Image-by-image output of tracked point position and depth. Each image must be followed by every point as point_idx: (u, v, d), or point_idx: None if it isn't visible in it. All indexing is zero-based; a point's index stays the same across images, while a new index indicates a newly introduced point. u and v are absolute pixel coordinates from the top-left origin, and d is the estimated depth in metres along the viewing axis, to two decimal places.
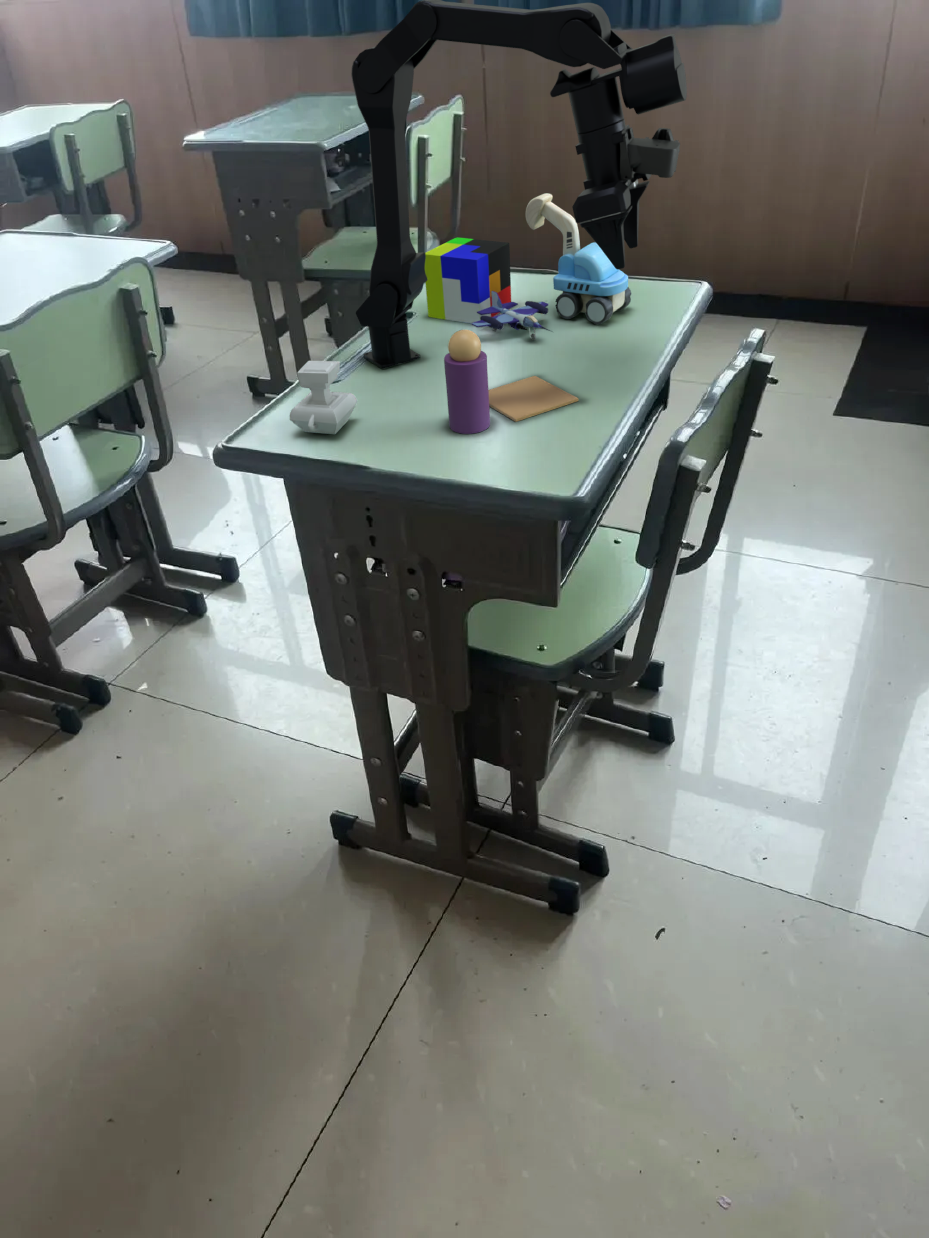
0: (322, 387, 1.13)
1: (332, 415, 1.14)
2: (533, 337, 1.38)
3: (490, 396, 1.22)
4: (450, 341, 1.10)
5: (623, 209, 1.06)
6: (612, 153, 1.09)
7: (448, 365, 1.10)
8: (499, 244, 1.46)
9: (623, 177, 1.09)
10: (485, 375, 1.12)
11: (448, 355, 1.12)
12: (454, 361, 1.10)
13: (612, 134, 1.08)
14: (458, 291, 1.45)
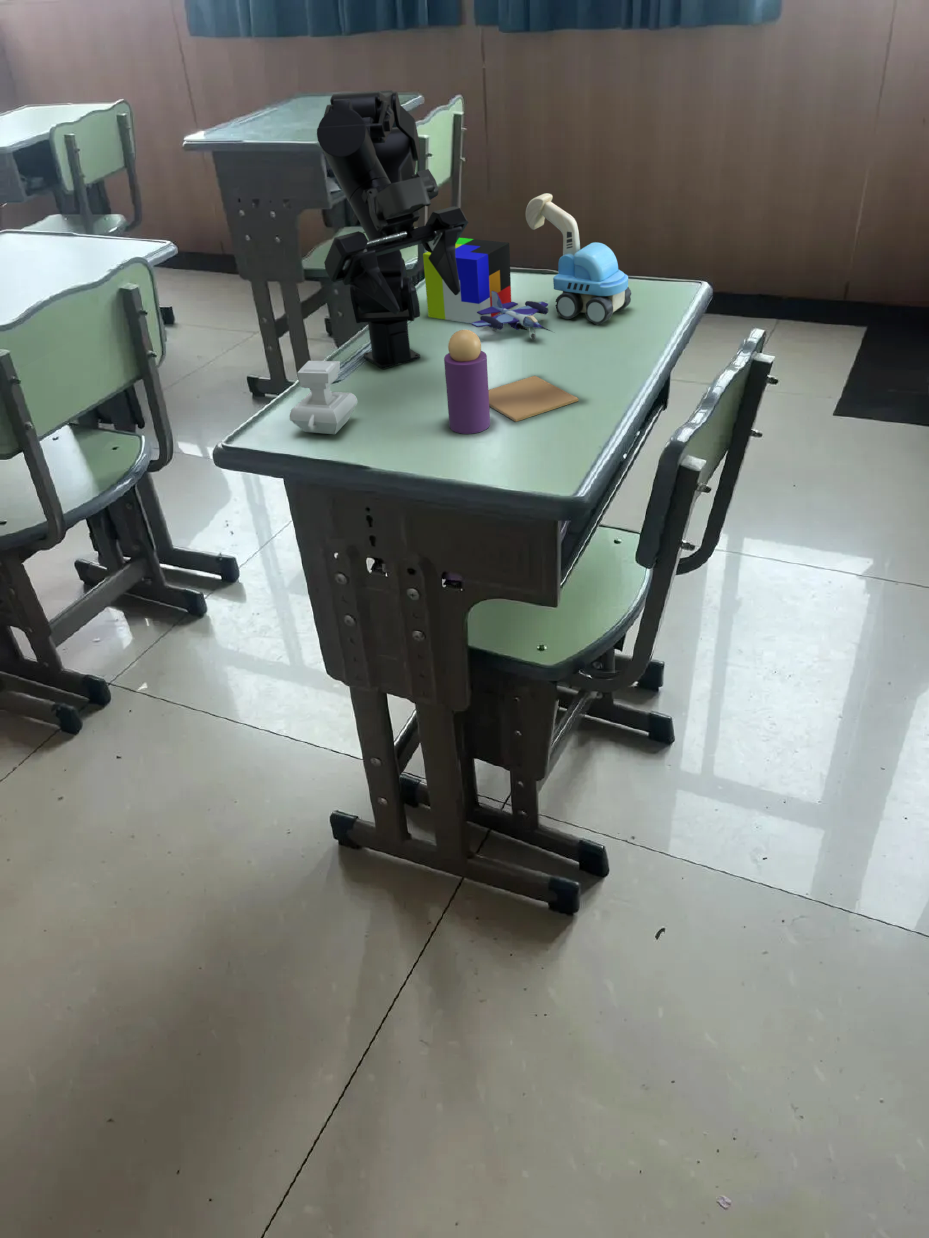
0: (322, 387, 1.13)
1: (332, 415, 1.14)
2: (533, 337, 1.38)
3: (490, 396, 1.22)
4: (450, 341, 1.10)
5: (343, 253, 1.08)
6: (367, 210, 1.12)
7: (448, 365, 1.10)
8: (499, 244, 1.46)
9: (377, 228, 1.11)
10: (485, 375, 1.12)
11: (448, 355, 1.12)
12: (454, 361, 1.10)
13: (361, 195, 1.12)
14: None
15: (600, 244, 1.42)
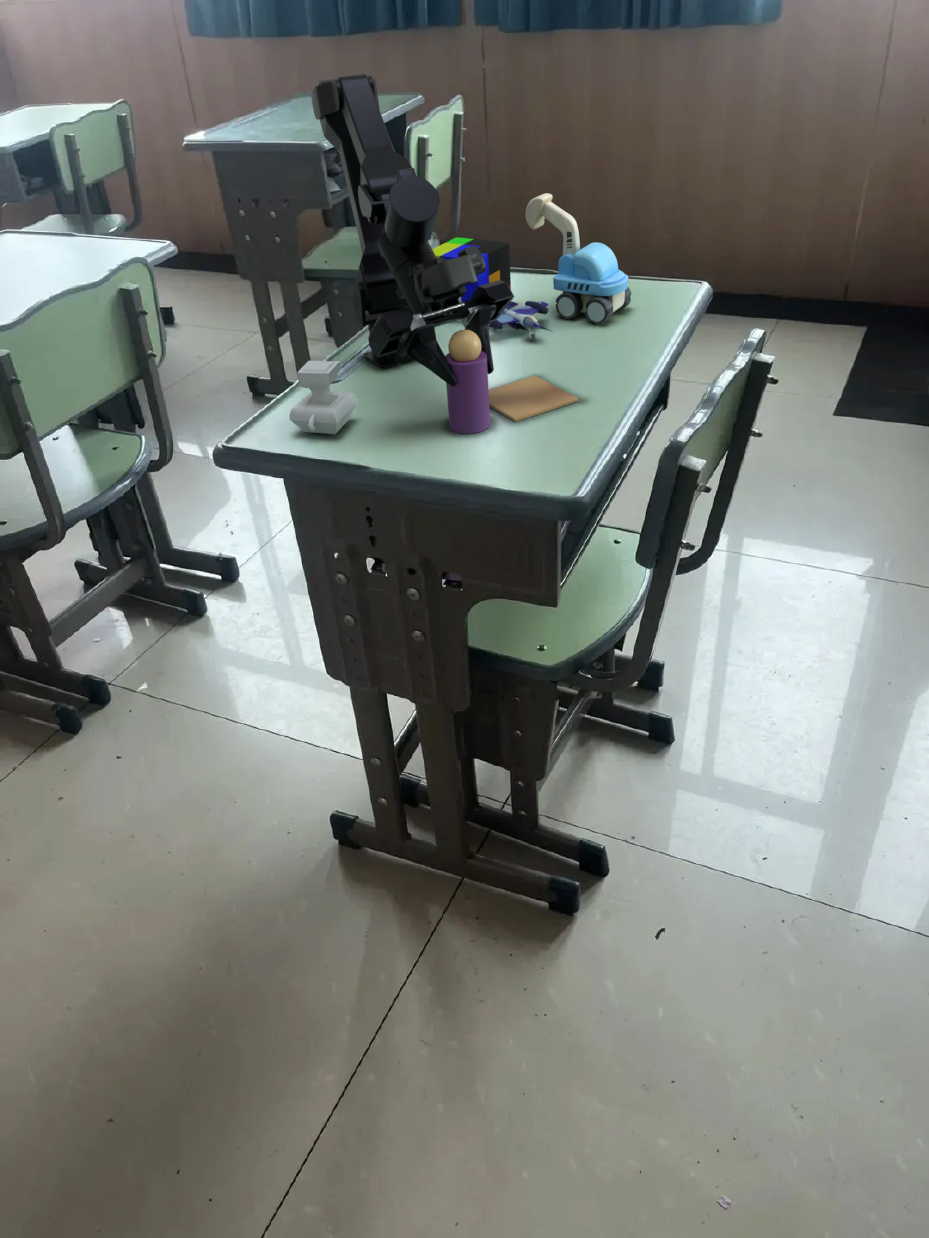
0: (322, 387, 1.13)
1: (332, 415, 1.14)
2: (533, 337, 1.38)
3: (490, 396, 1.22)
4: (450, 341, 1.10)
5: (389, 331, 1.06)
6: (412, 286, 1.10)
7: None
8: (499, 244, 1.46)
9: (422, 304, 1.09)
10: (485, 375, 1.12)
11: (448, 355, 1.12)
12: (454, 361, 1.10)
13: (407, 270, 1.10)
14: None
15: (600, 244, 1.42)
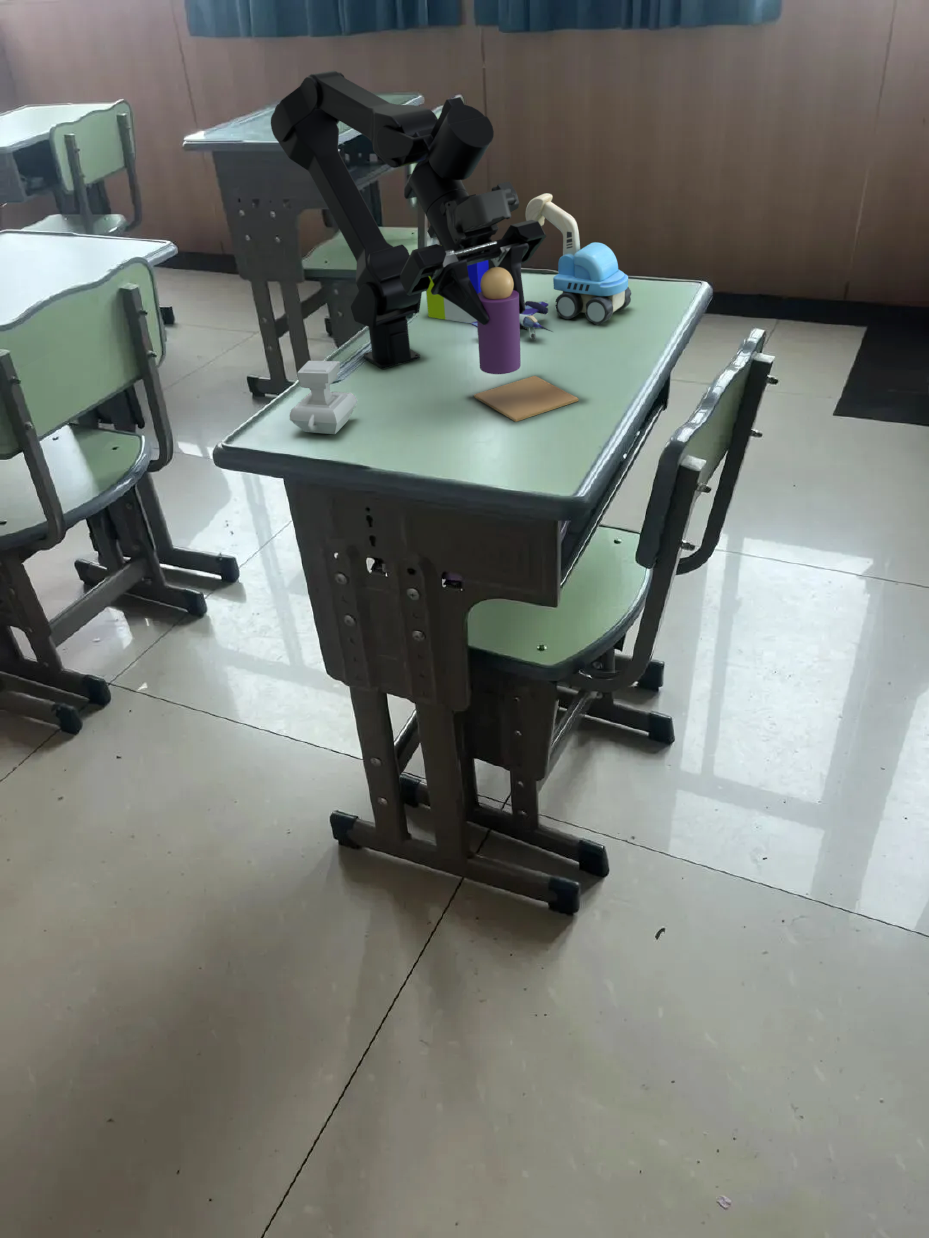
0: (322, 387, 1.13)
1: (332, 415, 1.14)
2: (533, 337, 1.38)
3: (490, 396, 1.22)
4: (482, 278, 1.09)
5: (422, 266, 1.05)
6: (444, 223, 1.10)
7: None
8: None
9: (455, 241, 1.09)
10: (517, 314, 1.11)
11: (480, 294, 1.11)
12: (486, 299, 1.10)
13: (439, 207, 1.09)
14: None
15: (600, 244, 1.42)
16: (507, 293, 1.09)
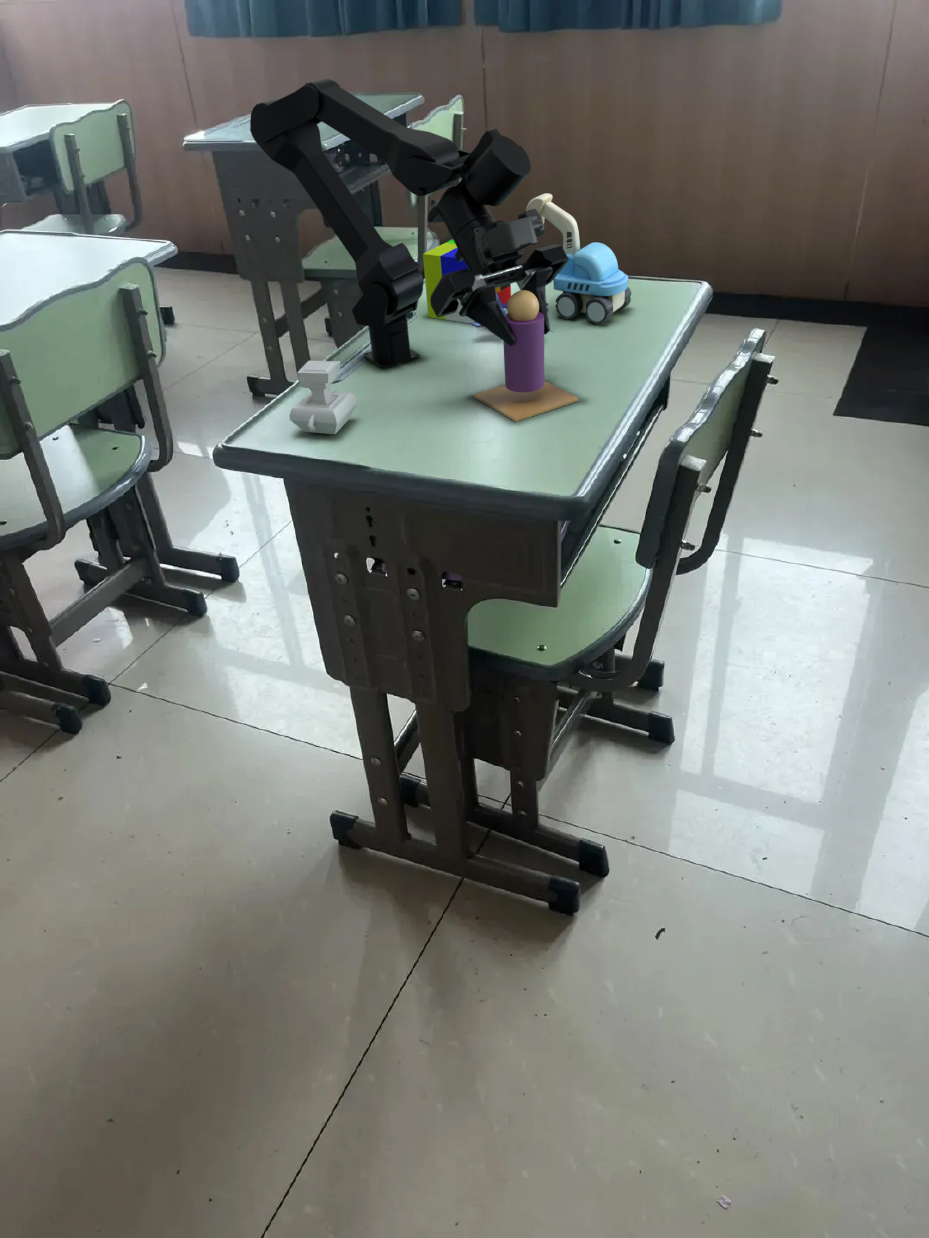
0: (322, 387, 1.13)
1: (332, 415, 1.14)
2: None
3: (490, 396, 1.22)
4: (509, 301, 1.14)
5: (452, 290, 1.10)
6: (472, 248, 1.14)
7: None
8: None
9: (483, 265, 1.13)
10: (542, 335, 1.16)
11: (506, 315, 1.16)
12: (513, 321, 1.14)
13: (468, 233, 1.14)
14: None
15: (600, 244, 1.42)
16: (533, 315, 1.14)
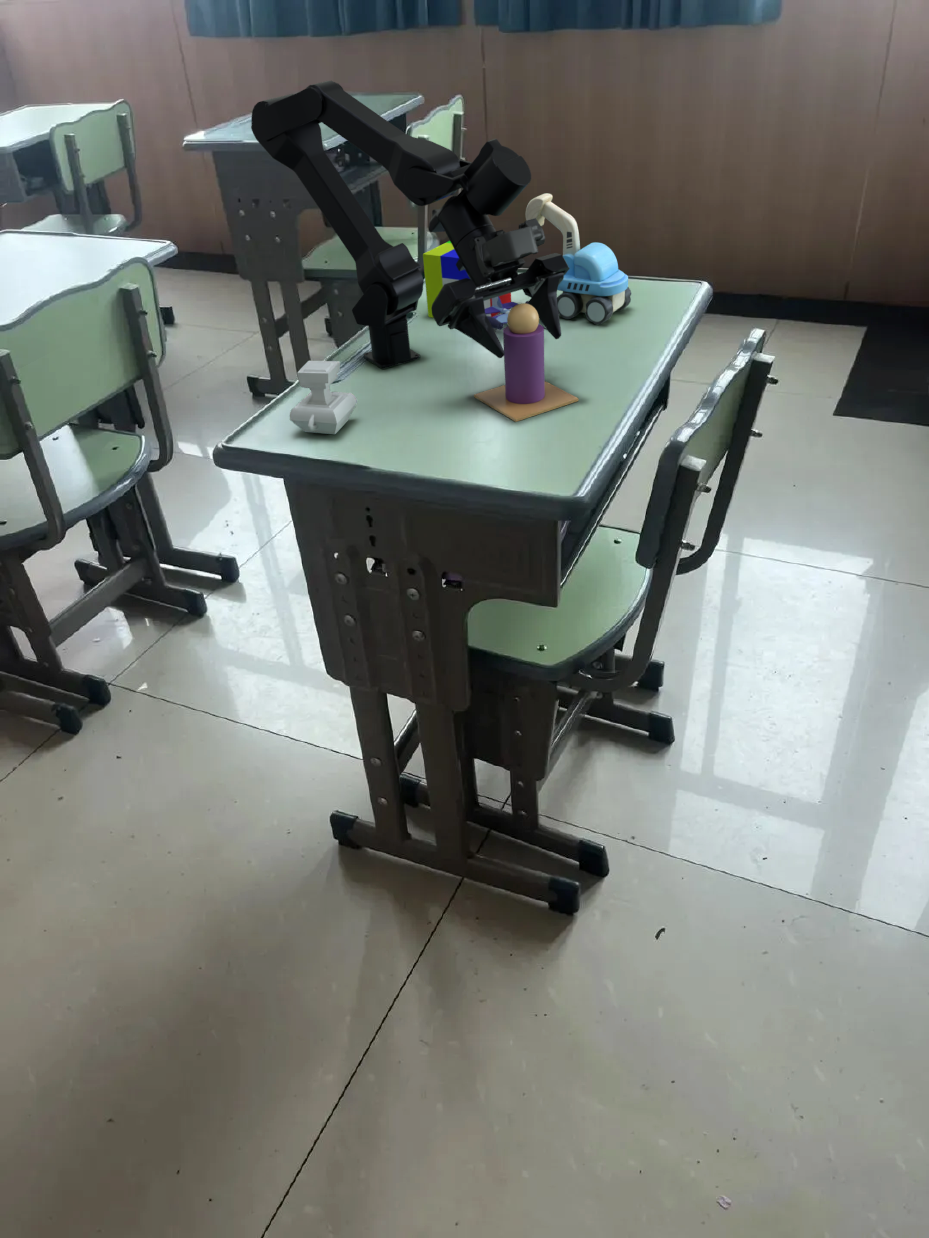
0: (322, 387, 1.13)
1: (332, 415, 1.14)
2: None
3: (490, 396, 1.22)
4: (510, 314, 1.15)
5: (453, 300, 1.10)
6: (473, 257, 1.15)
7: (507, 338, 1.16)
8: None
9: (483, 274, 1.14)
10: (542, 347, 1.17)
11: (506, 328, 1.17)
12: (513, 333, 1.15)
13: (468, 242, 1.15)
14: None
15: (600, 244, 1.42)
16: (533, 328, 1.15)
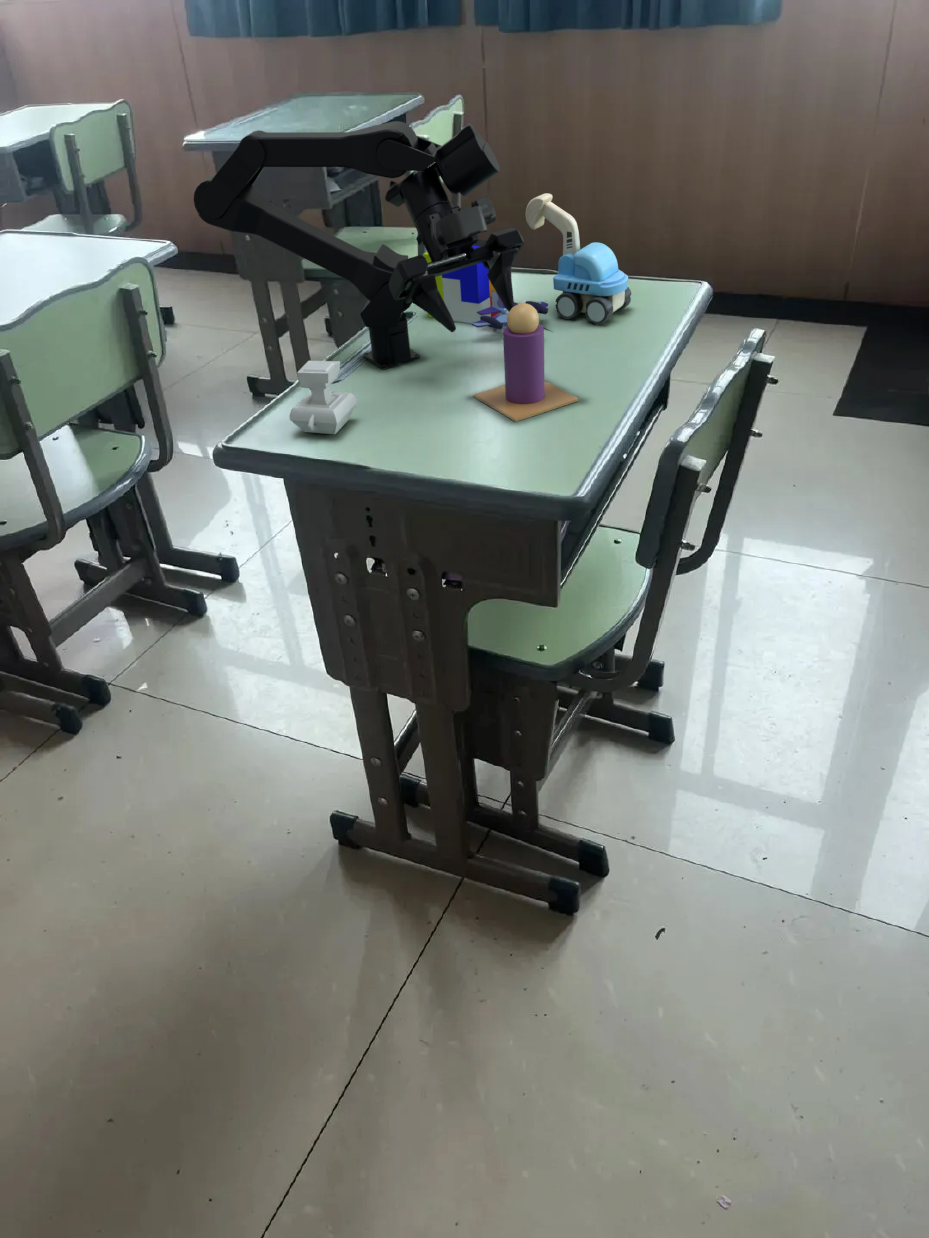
0: (322, 387, 1.13)
1: (332, 415, 1.14)
2: None
3: (490, 396, 1.22)
4: (510, 314, 1.15)
5: (405, 277, 1.17)
6: (429, 234, 1.20)
7: (507, 338, 1.16)
8: None
9: (437, 251, 1.19)
10: (542, 347, 1.17)
11: (506, 328, 1.17)
12: (513, 333, 1.15)
13: (425, 219, 1.20)
14: (458, 291, 1.45)
15: (600, 244, 1.42)
16: (533, 328, 1.15)
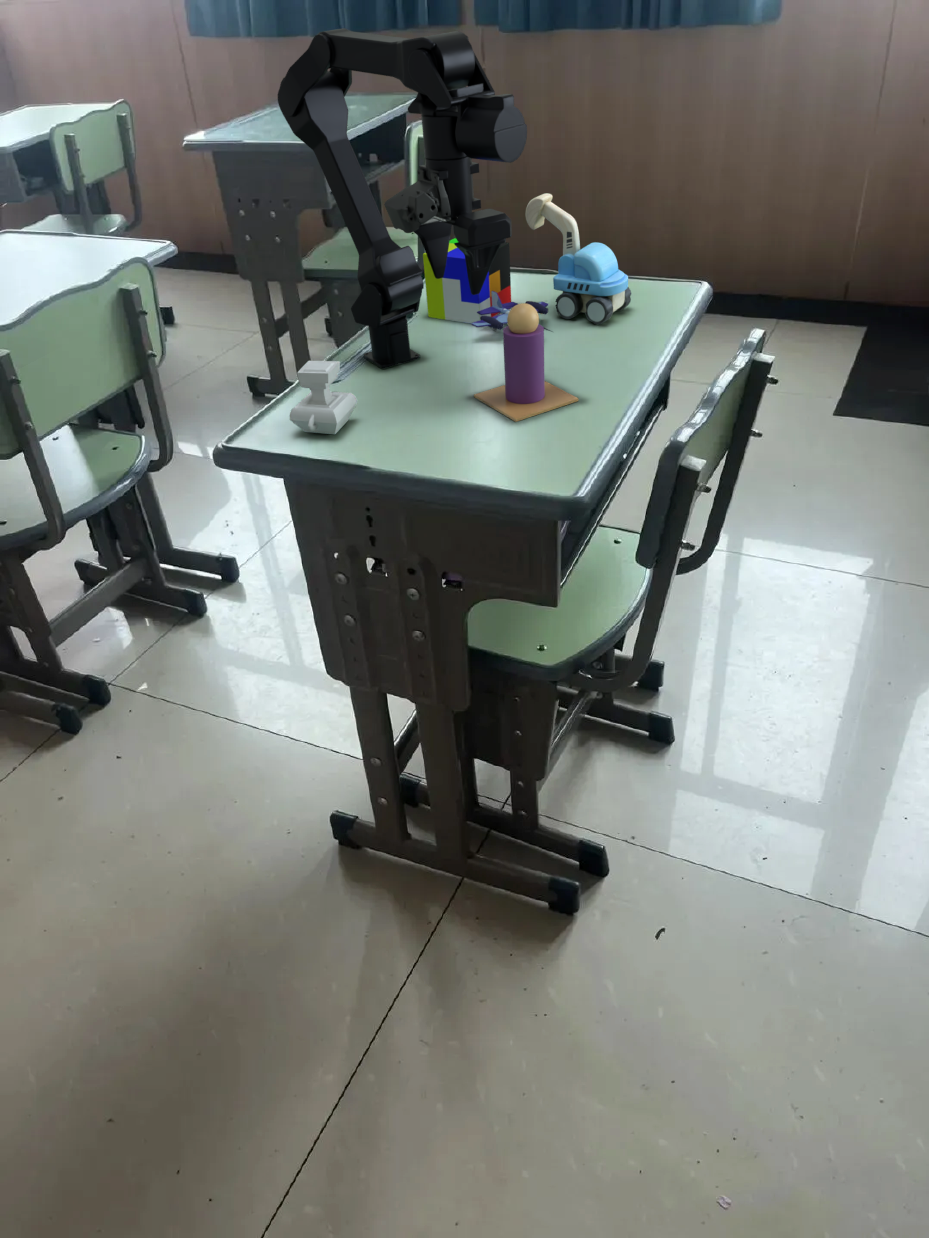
0: (322, 387, 1.13)
1: (332, 415, 1.14)
2: None
3: (490, 396, 1.22)
4: (510, 314, 1.15)
5: None
6: None
7: (507, 338, 1.16)
8: None
9: None
10: (542, 347, 1.17)
11: (506, 328, 1.17)
12: (513, 333, 1.15)
13: None
14: (458, 291, 1.45)
15: (600, 244, 1.42)
16: (533, 328, 1.15)
